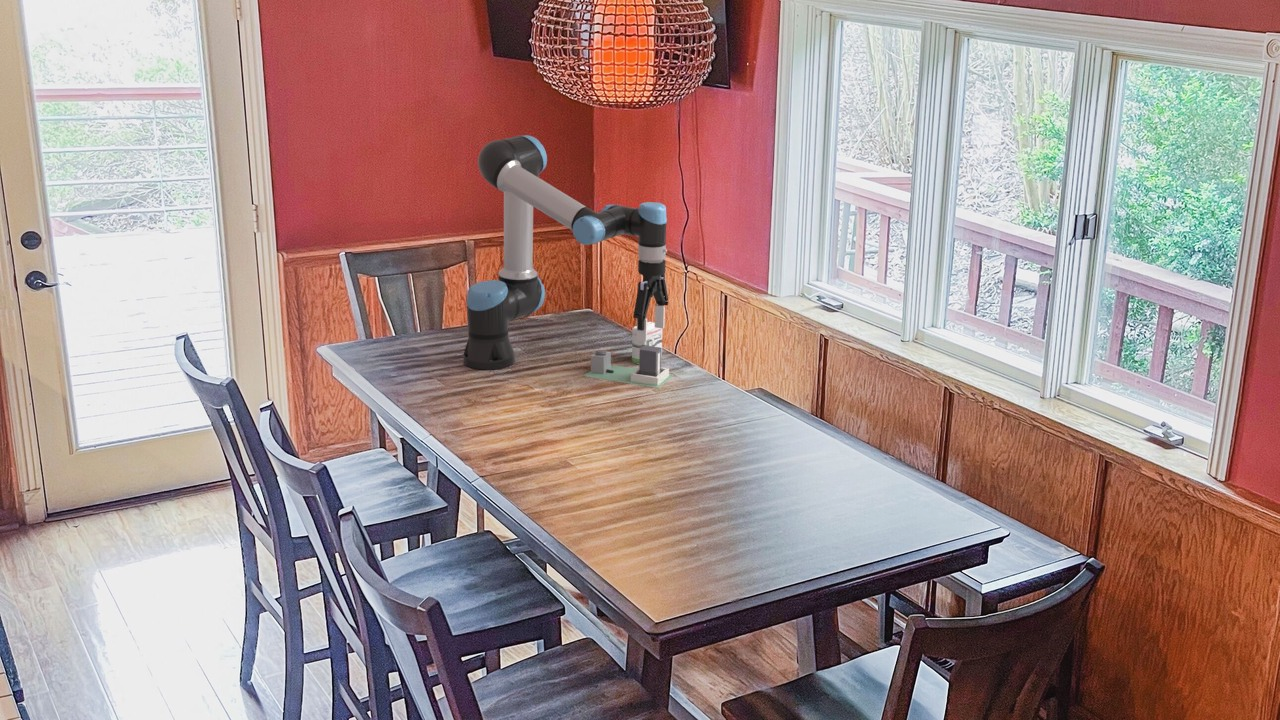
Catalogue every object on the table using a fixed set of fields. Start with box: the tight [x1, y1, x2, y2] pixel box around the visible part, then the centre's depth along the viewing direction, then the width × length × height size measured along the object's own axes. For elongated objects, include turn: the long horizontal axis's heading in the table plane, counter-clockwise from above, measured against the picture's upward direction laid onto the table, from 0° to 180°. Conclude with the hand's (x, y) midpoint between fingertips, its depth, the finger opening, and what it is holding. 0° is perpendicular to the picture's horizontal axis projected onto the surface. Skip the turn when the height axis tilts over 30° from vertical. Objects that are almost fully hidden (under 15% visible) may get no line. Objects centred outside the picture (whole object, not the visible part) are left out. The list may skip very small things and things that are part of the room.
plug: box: [638, 345, 662, 377], centre depth 352 cm, size 5×4×9 cm
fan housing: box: [590, 349, 614, 374], centre depth 358 cm, size 6×5×6 cm
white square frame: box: [631, 367, 670, 386], centre depth 353 cm, size 8×9×2 cm
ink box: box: [631, 321, 663, 365], centre depth 367 cm, size 9×5×12 cm, turn 140°
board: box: [583, 364, 674, 389], centre depth 356 cm, size 23×12×1 cm, turn 67°
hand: (650, 334), depth 349 cm, fingers open, 12 cm apart
